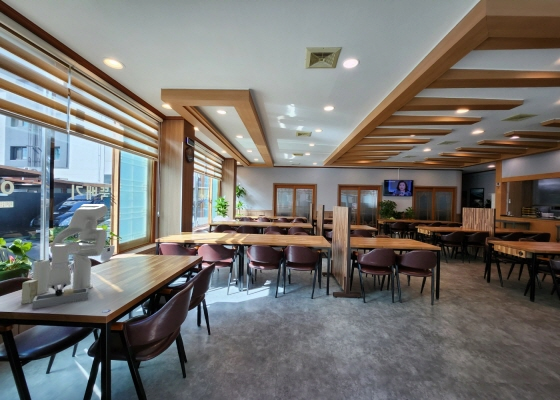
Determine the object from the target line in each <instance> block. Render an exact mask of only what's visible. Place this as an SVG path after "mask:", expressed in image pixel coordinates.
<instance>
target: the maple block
mask: <svg viewBox="0 0 560 400" xmlns="http://www.w3.org/2000/svg"><path fill="white" fill-rule="evenodd" d="M70 288H71V287H70ZM70 288H66V289H65V288H63V291H62V292H63V296H64V295H70V294H74V288H71V289H70Z"/></svg>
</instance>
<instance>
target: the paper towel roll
mask: <svg viewBox="0 0 560 400" xmlns="http://www.w3.org/2000/svg"><path fill="white" fill-rule="evenodd" d="M32 268H33V271H32V280H38V290H37V296H39V295H44V294H47V292H49V289H50V288H47V285H48V274H49V270H50V268H51V260H50V259H47V260H46V259H44V260H43V259H42V260H41V259H40V260H35V261H33V267H32Z"/></svg>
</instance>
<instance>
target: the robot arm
mask: <svg viewBox="0 0 560 400" xmlns="http://www.w3.org/2000/svg"><path fill="white" fill-rule="evenodd" d="M108 212H109V207H108V206H107V205H106V204H104V203H103V204H98V203H97V204H94V203H93V204H92V203H89V204H88V203H87V204H86V203H85V204H84V203H83V204H82V205H80V206H79V208H76V209H75V210H74V213H73V214H72V217H71V219H70V222H69V224H68V227H66V228H64V229H63V230H61V231H60V232H59V233H58V234H56V235H55V237H54V239H53V240H52V243H51V244H50V253H51V265H50V270H49V274H48V285H47V288H49V289H53V290H54V293H55V296H56V295H57V297H58V296H61V295H62V292H63V290H64V289H65V288H66V287H67V286H70V285H72V286H71V287H69V289H71V288H74V290H77V289H83V288H88V290H89V289H91V288H93V287H94V285H93V283H91V279H92V278H91V275H92V261H91V259H90V257H99V256H101V255H102V254H103V253H104V250H105V245H106V242H107V237H108V236H107V235H108V232H107V230H106V229H105V228H101V227H100V228H98V221H97V220H99V219H101V218H103V217H105V216H106V215H107V213H108ZM77 234H79V236H78V237H79V241H81V242H72V241H71V242H64V241H65V240H66V239H68V238H69V237H72V236H75V235H77ZM70 255H72V256H73V272H72V271H71V266H70V265H72V262H70V261H69V257H70ZM72 273H73V274H72ZM71 274H72V276H71ZM71 280H72V281H71ZM58 286H60V287H58Z"/></svg>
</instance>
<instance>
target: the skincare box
mask: <svg viewBox="0 0 560 400" xmlns="http://www.w3.org/2000/svg"><path fill="white" fill-rule="evenodd" d="M21 286H22V287H21V288H22V289H21V302H20V303H21V305H23V304H24V305H25V304H31V303H33V300H34V298H35V296H38V295H37V290H38V280H33V279H29V280H27V281H24V282H22V285H21Z"/></svg>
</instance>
